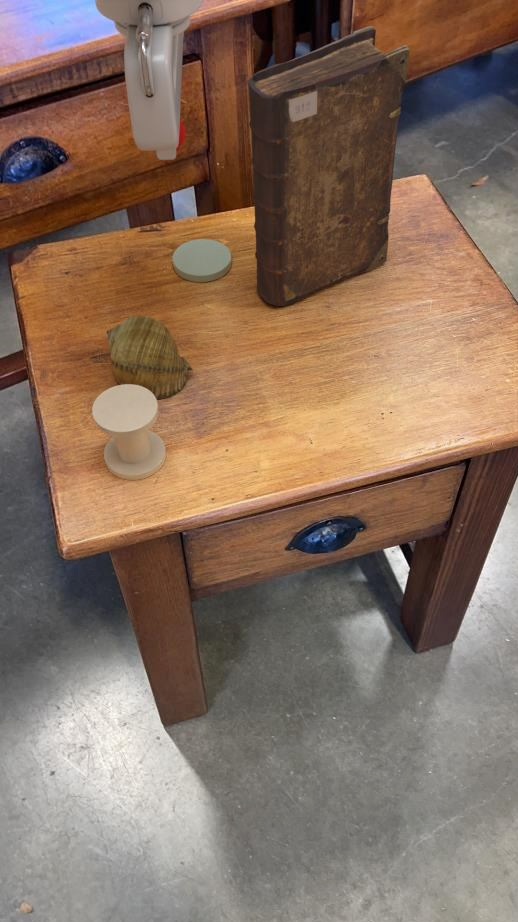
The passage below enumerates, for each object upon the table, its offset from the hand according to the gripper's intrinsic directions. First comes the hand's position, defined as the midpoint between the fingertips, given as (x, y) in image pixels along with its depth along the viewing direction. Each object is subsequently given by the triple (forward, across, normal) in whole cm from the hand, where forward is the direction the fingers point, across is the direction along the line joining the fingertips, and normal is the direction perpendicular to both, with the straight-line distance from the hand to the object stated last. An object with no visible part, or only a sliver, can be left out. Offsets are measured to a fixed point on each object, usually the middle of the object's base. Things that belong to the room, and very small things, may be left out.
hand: (168, 141), depth 78 cm
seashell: (+20, -10, +4) cm, 23 cm away
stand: (+20, -21, +5) cm, 30 cm away
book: (+21, +6, -15) cm, 26 cm away
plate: (+20, +9, -1) cm, 22 cm away
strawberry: (+1, 0, 0) cm, 1 cm away
